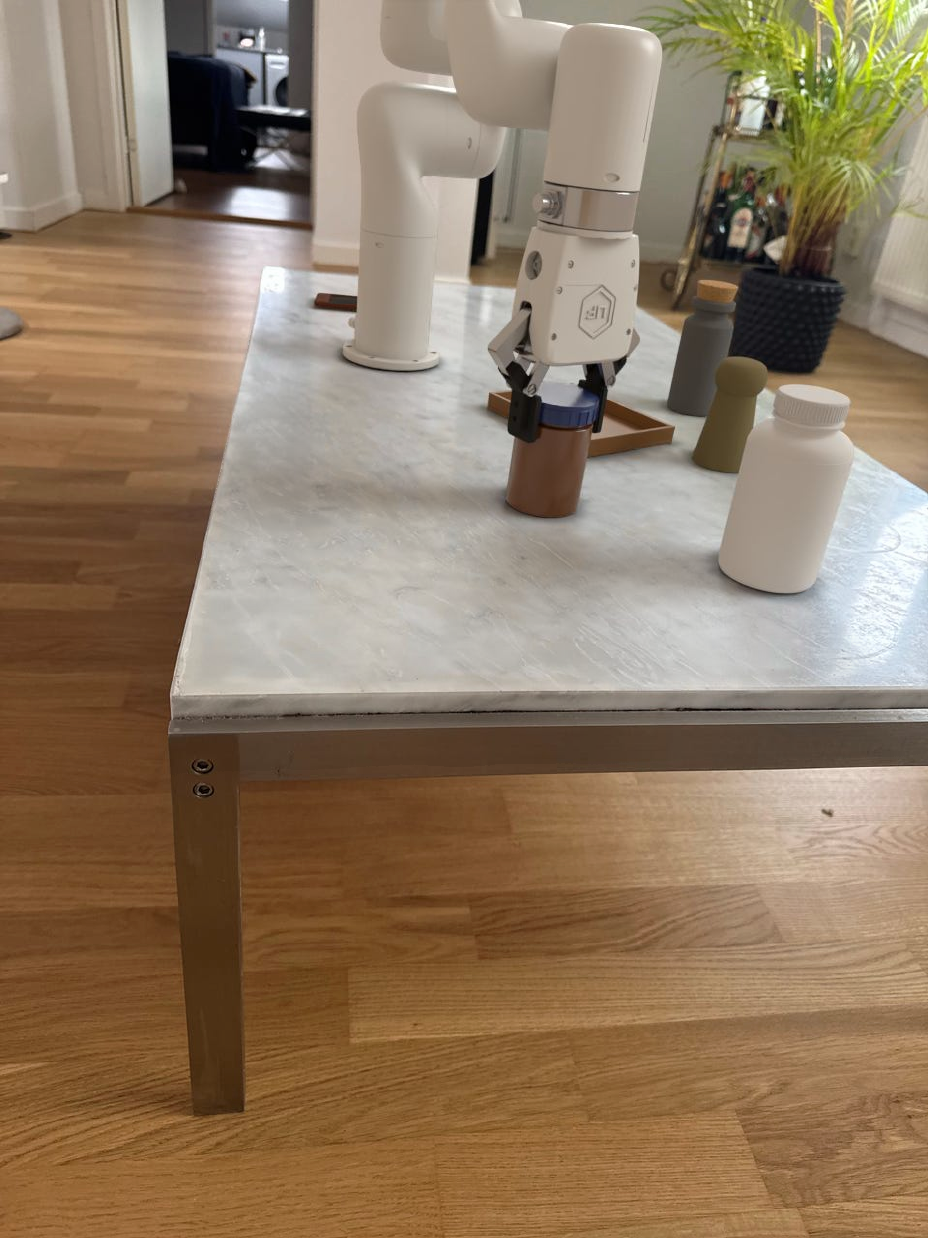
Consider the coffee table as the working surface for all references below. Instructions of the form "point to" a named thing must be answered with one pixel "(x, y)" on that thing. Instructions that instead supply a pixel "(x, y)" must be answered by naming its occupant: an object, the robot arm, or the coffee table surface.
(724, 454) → the olive pepper mill
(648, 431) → the tray
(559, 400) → the lid
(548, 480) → the jar
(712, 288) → the bottle
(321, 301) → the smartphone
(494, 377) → the coffee table surface
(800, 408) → the pill bottle
